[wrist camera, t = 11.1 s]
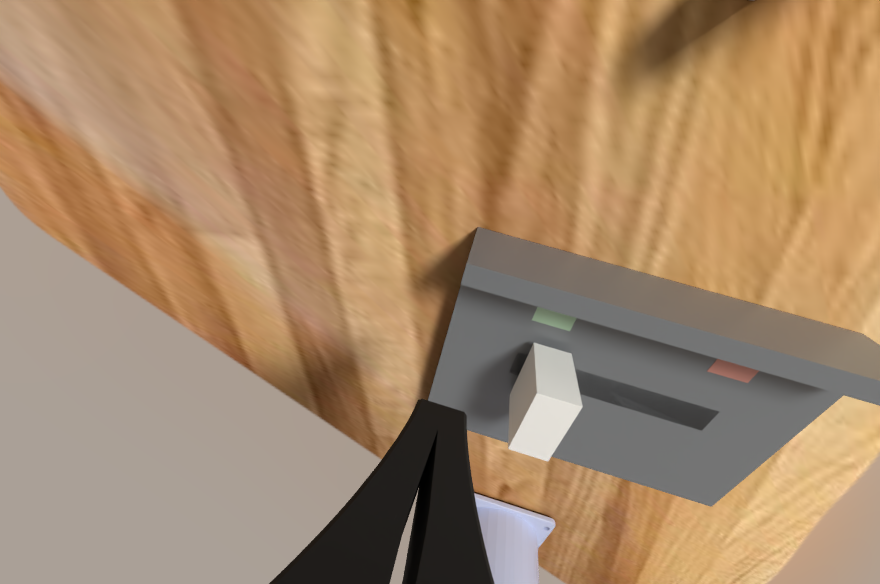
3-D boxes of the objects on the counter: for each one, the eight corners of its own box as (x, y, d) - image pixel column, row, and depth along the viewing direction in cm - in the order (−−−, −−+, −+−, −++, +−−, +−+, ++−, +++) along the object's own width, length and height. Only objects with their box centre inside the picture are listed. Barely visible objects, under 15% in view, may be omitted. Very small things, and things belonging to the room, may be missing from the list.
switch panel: (700, 483, 23) (737, 560, 19) (428, 399, 24) (411, 456, 20) (863, 334, 17) (968, 406, 13) (477, 226, 18) (466, 263, 14)
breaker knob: (543, 405, 20) (548, 461, 17) (509, 394, 20) (508, 448, 17) (571, 353, 18) (582, 406, 15) (533, 342, 18) (536, 393, 15)
